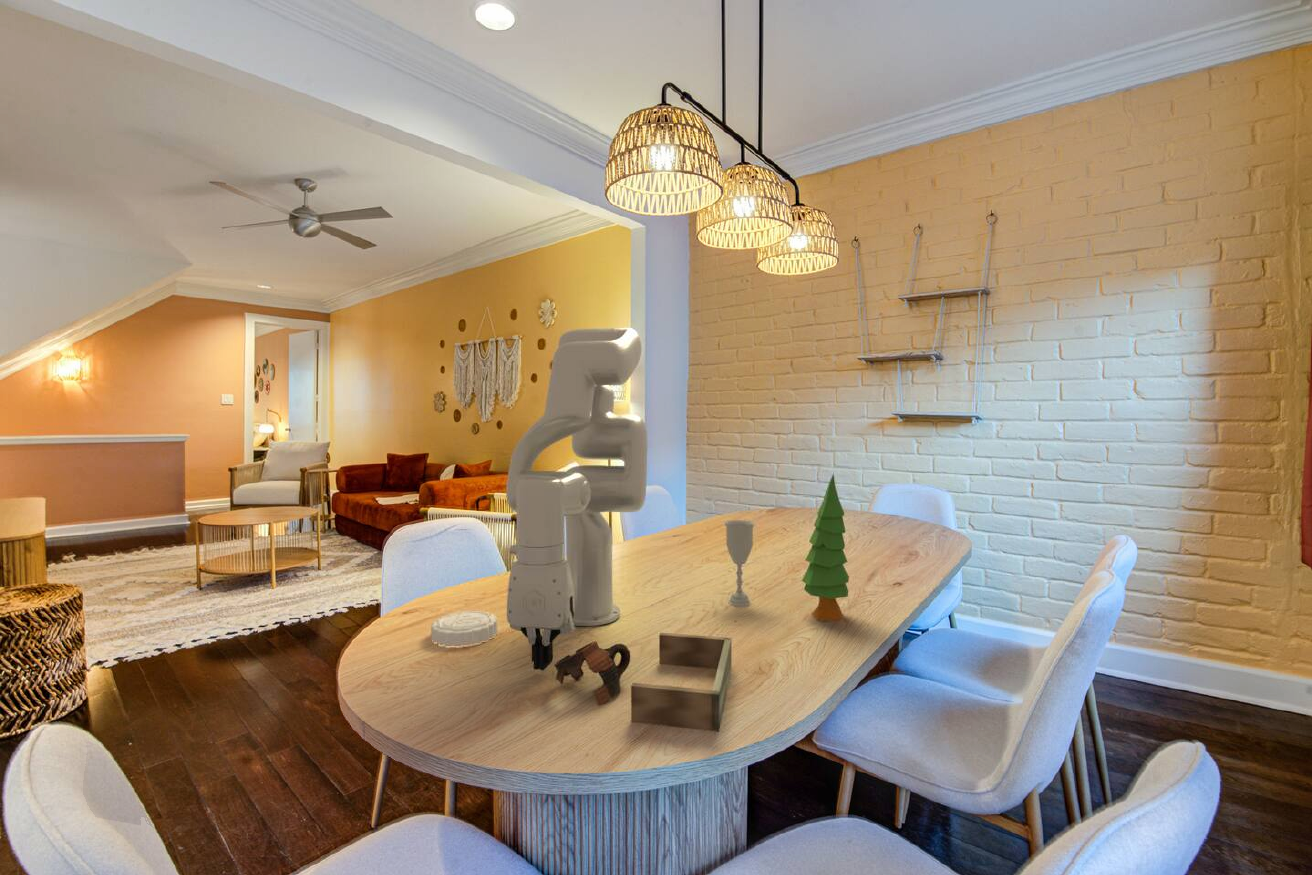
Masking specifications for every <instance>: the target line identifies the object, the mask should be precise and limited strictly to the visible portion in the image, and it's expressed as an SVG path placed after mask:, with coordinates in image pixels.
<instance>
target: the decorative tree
mask: <svg viewBox="0 0 1312 875" xmlns="http://www.w3.org/2000/svg"><path fill="white" fill-rule="evenodd" d="M835 481H836V480H835V474H834V473H833V474H832V476H831V478H830V480H829V482H828V485H827V488H826V491H825V494H824V497H823V500H822V503H821V505H820V507H819V508H818V509H819V510H818V511H817V513H816V515H817V516H816V520H815V522H814V523H813V526H814V527H815V528H814V530H813V533H812V535H811V537H810V539H809V541H808V542H809V543H810V544H812V546H811V548H810V549H809V552H808V554H807V556H806V558H805V560H804V561H805V562H807V563H809V565H808V566H807V568H806V571H805V573H804V575H803V577H802V580H801V582H803V583H805V586H804V588H803V590H804V592H806V593H808V594H809V595H810V596H813V597H817V598H818V603H817V604H818V605H817V606H816V608H815V609H814V610H813V611H812V612H811V616H812V617H813V618H815V619H816V620H817V621H823V620H824V621H823V622H841V619H842V618H843V616H844V615H843V612H842V610H841V607H840V605H839V603H838V602H837V599H839V598H841V599H842V598H848V597H849V589H848V585H847V583H849V581H850V580H849V579H850V575H849V574H848V572H847V570H846V568H845V564H846V563H848V559H847V556H846V555H845V552H844V549H846V547H845V546H846V544H845V540H844V535H843V534H845V533H846V527H845V526H846V525H845V522H844V517H843V516H845V511H844V508H843V506H842V503H841V501H840V498H839V495H838V491H837V488H836V482H835Z"/></svg>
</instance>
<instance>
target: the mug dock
mask: <svg viewBox="0 0 1312 875" xmlns="http://www.w3.org/2000/svg"><path fill="white" fill-rule="evenodd" d="M658 638H659V639H658V640H659V646H658V648H659V650H658V651H659V657H658V658H659V659H658V660H659V662H658V663H659V665H667V666H676V667H677V666H678V667H689V668H701V669H709V670H710V669H711V670H716V675H715V677H714V682H713V686H712V689H705V688H704V689H702V688H701V689H700V688H691V687H681V686H672V685H671V686H670V685H660V684H649V683H641V682H640V683H638V682H632V684H631V686H630V706H631V707H630V709H631V710H630V712H631V713H630V716H631V717H630V718H631V719H630V721H631V723H636V724H637V723H638V724H646V725H647V724H648V725H655V726H663V727H664V726H665V727H673V728H683V729H693V730H699V731H700V730H701V731H702V730H703V731H711V732H720V728H721V724H722V719H723V713H724V709H725V703H726V698H727V692H728V688H729V687H728V686H729V682H730V677H731V671H732V637H723V636H722V637H721V636H710V635H709V636H707V635H696V634H683V633H681V634H680V633H670V632H669V633H668V632H660V633H659V637H658Z"/></svg>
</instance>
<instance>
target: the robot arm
mask: <svg viewBox="0 0 1312 875" xmlns="http://www.w3.org/2000/svg"><path fill="white" fill-rule="evenodd" d="M641 354H642V341H641V339H640V336H639V334H638V333H637V331H636V330H634V329H633V328H630V327H614V328H613V327H609V328H608V327H606V328H599V327H598V328H595V327H594V328H577V329H571V330H569V331H566V332H564V333H562V334H561V336H560V338H559V340H558V347H557V349H556V350H555V352H554V354H553V358H552V364H551V370H550V376H549V382H548V389H547V395H546V400H545V407H544V413H543V414H542V416H541V417H540V418H539V419H537V421H535V422H534V423H533V424H532V425H531V426H530V427H529V428H528V429H527V431H525V433H524V434H523V435H522V436H521V438H520V440H518V442H517V444H516V445H515V447H514V449H513V452H512V454H511V458H510V463H509V468H508V475H507V481H506V487H505V488H506V489H505V494H506V496H505V497H506V501H507V504H508V506H509V508H510V509H511V511H513V512H515V513H516V543H515V544H514V545H513V544H511V545H510V546H509V553H510V554H514V555H515V559H516V561H514V562H512V564H511V566H510V567H511V568H510V573H509V578H508V588H507V595H506V596H507V599H506V621H507V623H509V627H510V628H511V629H512V630H515V631H518V632H521V633H522V634H523V635H524V636H525V638H526V639H527V641H528V644H529V645H530V646H531V661H532V662H533V670H535V671H536V670H540V671H545V670H546V669H547V668H548V667H549V665H551V663H553V661H554V660H553V659H554V652H553V651H554V649H553V648H554V642H553V641H554V640H556V639H557V637H558V636H560V635H561V636H563V635H567V634H572V633H573V631H574V630H575V629H576V628H575V626H577V627H594V626H595V627H596V626H603V625H606V624H610V623H612V622H614V621H617V620H618V619H619V618H620V616H621V609H620V608H619V606H618V605H616V604H614V603H613V602H614V601H613V533H612V529H611V526H610V525H609V523H608V521H607V519H605V517H604V515H603V514H602V513H635V512H638V511H640V510H641V509H642V508H643V507H644V505H645V501H646V496H647V473H648V472H647V471H648V430H647V426H646V423H645V422H644V419H643V418H641V416H639V415H636V414H623V413H622V414H615V413H614V408H615V407H614V404H615V394H614V390H613V387H611V386H621V385H623V384H625V383H627V382H628V380H629V379H630V378H631V376H632V374H633V373H634V371H635V370H636V368H637V367H638V365H639V363H640V360H641V356H642V355H641ZM568 437H571V447H572V451H573V453H574V455H575V456H576V457H578V458H580V459H585V460H603V461H604V460H605V461H606V460H610V461H611V460H612V461H614V460H617V461H618V460H619V461H622V462H623V463H624V464H623V465H605V464H603V465H598V464H595V465H593V464H592V465H591V464H589V465H587V464H585V465H577V466H573V467H571V468H569V469H567V470H566V471H564V470H563V471H557V470H556V471H555V470H533V467H534V464H535V462H536V460H537V459H538V457H539V455H540V454H542V452H543V451H545V450H546V449H547V448H548V447H550V446H552V445H553V444H556V443H558V442H560V441H562V440H564V439H566V438H568ZM565 538H566V539H565ZM565 543H566V544H565ZM542 630H543V632H542Z"/></svg>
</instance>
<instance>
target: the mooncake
mask: <svg viewBox="0 0 1312 875" xmlns="http://www.w3.org/2000/svg"><path fill="white" fill-rule="evenodd" d="M430 633H431V634H430V636H431V638H430V639H432V640H433V642H437V643H438V644H440V645H443V644H444V645H445V646H452V645H453V646H461V645H470V644H475V643H480V642H481V641H487V640H489V638H492V637H494V638H495V636H494V635H495V634H496V633H497V634H498V618H497V616H495V614H493V613H490V612H488V611H480V610H478V611H477V610H462V611H458V612H457V611H456V612H455V613H450V614H446V615H445V614H444V615H443V616H442V617H440V618H437V619H436V620H435V621H433V622H432V623H431V627H430ZM489 641H490V640H489ZM433 642H432V643H433Z"/></svg>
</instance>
